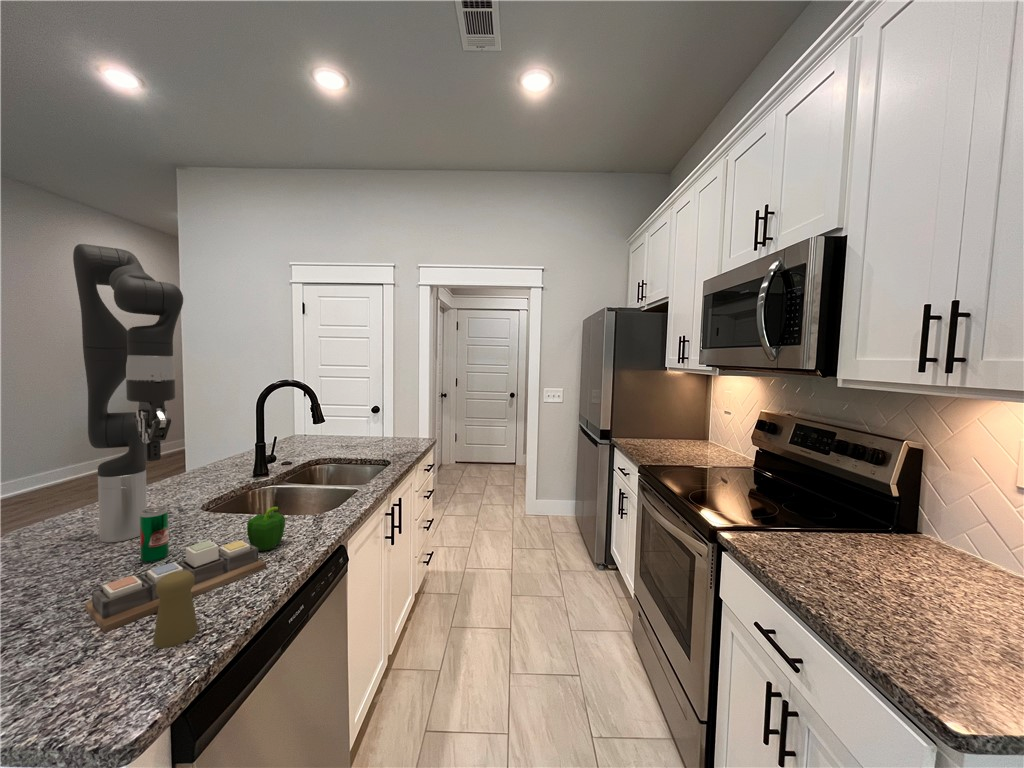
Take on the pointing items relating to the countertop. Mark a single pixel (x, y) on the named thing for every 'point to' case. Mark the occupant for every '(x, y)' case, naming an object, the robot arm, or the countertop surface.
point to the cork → (175, 610)
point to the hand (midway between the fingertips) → (152, 460)
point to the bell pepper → (266, 529)
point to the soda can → (154, 534)
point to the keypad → (147, 601)
